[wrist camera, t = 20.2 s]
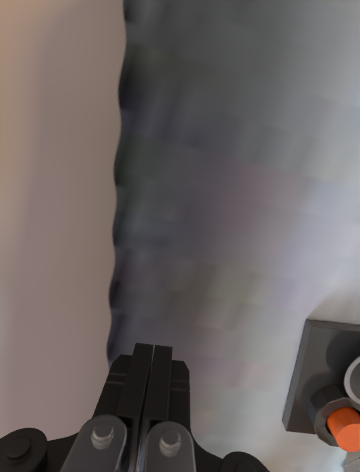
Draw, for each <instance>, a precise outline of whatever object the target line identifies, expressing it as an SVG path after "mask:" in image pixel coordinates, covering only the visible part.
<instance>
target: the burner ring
mask: <svg viewBox="0 0 360 472" xmlns="http://www.w3.org/2000/svg"><path fill="white" fill-rule="evenodd" d="M344 386H345V390H346V392H347V394H348V395H349V397H350V398H351V399H352V400H354V401H355V402H356V403H358V404H360V356H359V357H358V358H357V359H355V360H354V361H353V362H352V363H351V365H350V366H349V367H348V369H347V371H346V374H345V378H344Z"/></svg>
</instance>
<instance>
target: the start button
mask: <svg viewBox="0 0 360 472" xmlns="http://www.w3.org/2000/svg"><path fill="white" fill-rule="evenodd" d="M327 426H328V428H329V429H330V431H331V433H332V435H333V437H334V438H335V440H336V442H337V444H338V445H339V447H340V448H342V449H343V450H345V451H349V452H355V451H360V415H359V413H358V412H357V411H356V410H355V409H353V408H350V407H342V408H339V409H336V410H334V411H333V412H332V413H331V414H330V415H329V416H328V418H327Z"/></svg>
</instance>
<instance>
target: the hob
mask: <svg viewBox="0 0 360 472" xmlns="http://www.w3.org/2000/svg"><path fill="white" fill-rule="evenodd" d="M359 356H360V325H351V324H342V323H334V322H325V321H316V320H306V323H305V327H304V331H303V335H302V339H301V344H300V348H299V352H298V356H297V360H296V364H295V369H294V373H293V377H292V381H291V385H290V389H289V394H288V398H287V402H286V406H285V410H284V414H283V419H282V422H283V424H284V427H285V429H286V431H290V432H299V433H308V434H317V436H318V438H319V439H321V440H322V441H324V442H325V443H327V444H328V445H330V446H336V447H339V445H338V444H337V442H336V440H335V438H334V437H333V435H332V433H331V431H330V429H329V428H328V426H327V418H328V416H329V415H330V414H331V413H332V412H333V411H334V410H336V409H339V408H342V407H350V408H353V409H355V410H356V411H357V412H358V413H359V415H360V404H358V403H356V402H355V401H354V400H352V399H351V398H350V397H349V395H348V394H347V392H346V390H345V386H344V378H345V374H346V371H347V369H348V367H349V366H350V365H351V363H352V362H353V361H354V360H355V359H357V358H358V357H359Z"/></svg>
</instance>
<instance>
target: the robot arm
mask: <svg viewBox="0 0 360 472" xmlns="http://www.w3.org/2000/svg"><path fill="white" fill-rule="evenodd" d="M152 355H153V345H150V344H141V343H136V345H135V348H134V352H133V355H132V356H131V355H122V354H121V355H120V356H119V357H118V358H117V359H116V360H115V361H114V362H113V363H112V366H111V369H110V371H109V375H108V377H107V379H106V383H105V385H104V387H103V390H102V393H101V396H100V398H99V401H98V404H97V406H96V409H95V412H94V414H93V417H92V418H91V419H90V420H88V421H87V422H86V423H85V424H84V425H83V426H82V428H81V429H80V431H79V432H78V433H76V434H74V435H72V436H69V437H66V438H61V439H56V440H51V441H47V438H46V436H45V434H44V433H43V432H42V431H40V430H38V429H35V428H23V429H19V430H16V431H14V432H11V433H9V434H8V435H6V436H4V437H3V438H1V439H0V472H135V469H136V463H137V457H138V451H139V445H140V451H139V461H138V471H137V472H270V471H269V470H268V469H267V468H266V467H265V466H264V465H263V464H262V463H261V462H260V461H259V460H258V459H257V458H255V457H254V456H252V455H250V454H248V453H245V452H238V451H237V452H232V453H229V454H228V455H226V456H225V457H224V458H223V459H221V458H219V457H217V456H215V455H213V454H210V453H209V452H207V451H205V450H204V449H202V448H201V447H200V446H199V445H198V444H197V442H196V441H195V439H194V438H193V436H192V433H191V428H190V392H189V391H190V385H189V370H188V368H187V366H186V364H185V362H184V361H176V360H172V347H169V346H160V345H155V350H154V355H153V361H152ZM151 365H152V367H151ZM140 439H141V442H140Z"/></svg>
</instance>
